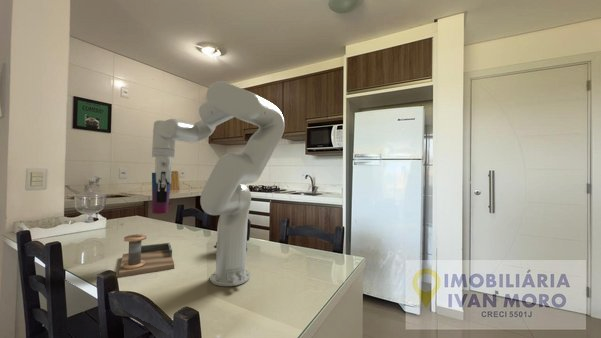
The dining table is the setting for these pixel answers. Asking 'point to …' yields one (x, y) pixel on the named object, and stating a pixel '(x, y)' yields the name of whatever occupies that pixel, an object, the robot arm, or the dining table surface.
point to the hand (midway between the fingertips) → (160, 200)
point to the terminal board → (145, 257)
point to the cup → (156, 206)
